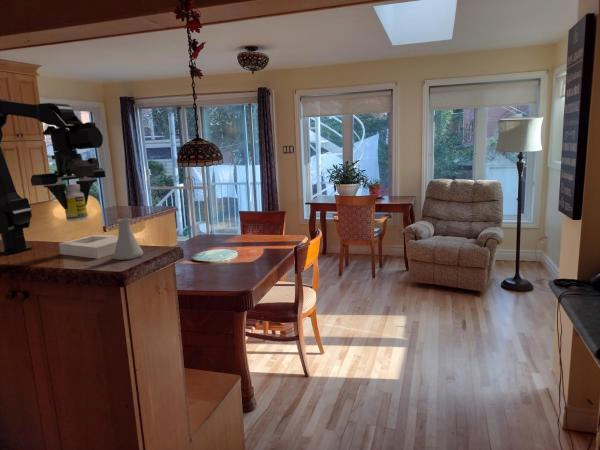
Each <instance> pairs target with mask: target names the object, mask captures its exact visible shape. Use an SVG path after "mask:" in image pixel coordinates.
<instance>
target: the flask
mask: <svg viewBox="0 0 600 450" xmlns="http://www.w3.org/2000/svg"><path fill="white" fill-rule="evenodd" d="M130 221H131V218H126V217H125V218H120V219H117V220H116V223H117V224H118V235H117V236H118V240H117V245H116V249H115V253H114V254H113V260H117V261H118V260H119V261H122V260H123V261H125V260H132V259H133V260H134V259H136V258H140V257H142V256H143V255H144V251H143V249H142V247H141V245H140V244H139V243H138V241H137V239H136V237H135V236H134V233H133V230H132V226H131V222H130Z"/></svg>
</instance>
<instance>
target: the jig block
mask: <svg viewBox="0 0 600 450" xmlns="http://www.w3.org/2000/svg"><path fill="white" fill-rule="evenodd" d="M118 236H119V235H109V234H99V233H98V234H92V235H89V236H85V237H81V238H76V239H73V240H67V241H65V242H60V243H58V245H59V250H60V255H65V256H74V257H82V258H90V259H96V260H98V259H101V258H105V257H108V256H111V255H114V253H115V249H116V245H117V240H118Z"/></svg>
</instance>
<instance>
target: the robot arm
mask: <svg viewBox="0 0 600 450" xmlns="http://www.w3.org/2000/svg"><path fill="white" fill-rule="evenodd" d="M9 115H10V116H14V117H15V116H16V117H24V118H31V119H35V120H37V121H38V122H40V123H42V124H46V125H47V127H46V129H45V130H44V131H43V132H42V135H43V136H50V139H51V147H52V152H53V155H51V156H50V157H51V160H55V161H54V162H55V163H54V164H55V167H56V170H54V172H50V173H38V174H37V173H36V174H32V175H31V177H30V184H31V186H32V187H33V186H35V187H36V186H43V188H45V189H46V188H47V189H48V190H49V191H50V192H51V194H52V195H53V196H54V197H55V198H56V200H57V201H58V202H59V205H60V206H61V207H62V208H63V210H65V209H68V206H67V200H66V195H65V193H66V191H65V186H66V185H67V184H66V183H63V181H69V180H75V183H76V184H80V192H83V193H84V197H85V203H86V206H87V205H88V200H89V195H90V190H91V187H92V185H93V184H94V183H95V182H97V181H98V179H100V178H102V179H103V178H107V176H106V171H105V170H104V168H103V167H100V164H99V160H98V158H96V157H90V158H88V159H83V156H82V154H81V153H78V150H87V149H97V148H98V149H99V148H101V147H102V145H103V142H104V138H103V137H104V136H103V134H102V132H101V130H100V129H99V128H98V127H97V126H96V122H95V121H92V122H91V121H89V122H83V121H82V120H81V119H80V118H79V116H78V115H76V113H75V112H74V109H73V108H72V106H71V105H70V104H68V103H67V104H66V103H55V102H45V103H43V102H42V103H28V102H23V101H22V102H21V101H14V100H8V99H5V98H4V99H3V98H0V239H1V244H2V249H1V250H0V254H8V255H12V254H15V253H20V252H24V251H28V250H32V249H33V247H32V246H27V244H26V238H25V237H26V236H25V234H24V229H28V228H30V224H31V218H32V217H33V215H32V214H33V213H32V211H33V209H32V207H31V206H30V200H29V199H28V197H21V195H20V194H18V191H17V190H16V187H15V184H14V182H13V178H12V176H11V172H10V170H9V166H8V164H7V160H6V158H5V156H4V152H3V149H2V147H1V144H2V139H3V130H2V128H3V127H4V126H5V125H6V124H7V122H8V116H9ZM95 178H96V179H95ZM76 179H78V180H76Z"/></svg>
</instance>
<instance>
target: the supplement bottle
mask: <svg viewBox="0 0 600 450" xmlns="http://www.w3.org/2000/svg"><path fill="white" fill-rule="evenodd" d="M65 195H66V200H67V206H68V209H64V213H65V219H66V221H67V222H77V221H83V220H86V219H88V218H89V215H88V209H87V205H86V203H85V197H84V193H83V192H80V184H68V185H67V184H66V186H65Z"/></svg>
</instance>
